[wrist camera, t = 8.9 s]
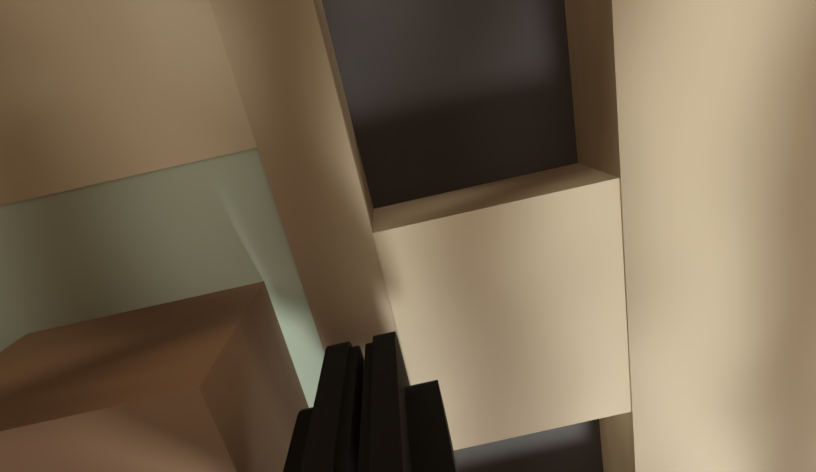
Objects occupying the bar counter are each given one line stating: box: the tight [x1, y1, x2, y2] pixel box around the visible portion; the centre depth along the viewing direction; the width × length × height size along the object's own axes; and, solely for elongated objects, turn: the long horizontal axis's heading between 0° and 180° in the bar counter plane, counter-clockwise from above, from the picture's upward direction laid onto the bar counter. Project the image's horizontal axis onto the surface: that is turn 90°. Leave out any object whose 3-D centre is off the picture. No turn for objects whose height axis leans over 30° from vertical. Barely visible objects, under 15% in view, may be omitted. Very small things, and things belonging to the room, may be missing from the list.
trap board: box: [0, 0, 816, 472], centre depth 11 cm, size 28×20×6 cm
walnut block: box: [0, 281, 309, 472], centre depth 10 cm, size 6×6×4 cm
